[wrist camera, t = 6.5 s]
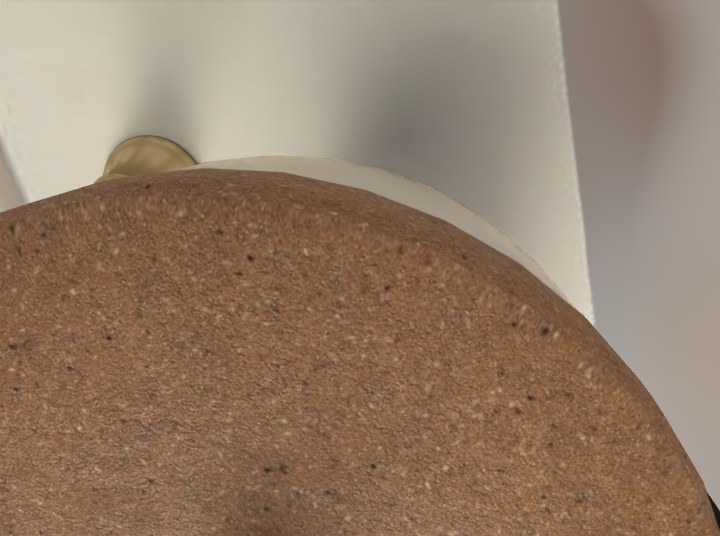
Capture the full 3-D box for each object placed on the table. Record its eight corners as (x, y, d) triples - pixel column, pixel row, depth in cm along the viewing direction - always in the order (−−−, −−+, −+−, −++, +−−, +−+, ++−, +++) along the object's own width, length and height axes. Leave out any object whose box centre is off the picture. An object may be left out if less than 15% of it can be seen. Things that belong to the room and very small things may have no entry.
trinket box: (655, 247, 12) (1349, 759, 3) (433, 559, 15) (438, 1189, 7) (214, 35, 11) (-536, -126, 3) (98, 406, 15) (-362, 858, 6)
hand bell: (227, 213, 40) (109, 292, 26) (145, 258, 43) (-8, 354, 28) (167, 115, 38) (1, 136, 24) (84, 167, 41) (-116, 217, 26)
